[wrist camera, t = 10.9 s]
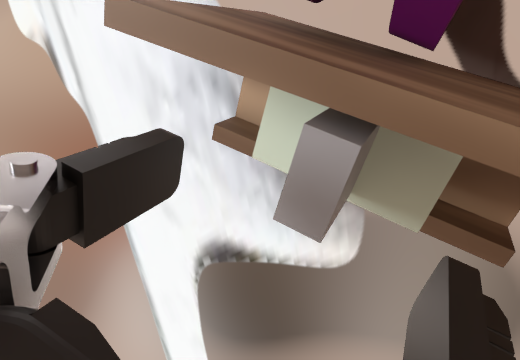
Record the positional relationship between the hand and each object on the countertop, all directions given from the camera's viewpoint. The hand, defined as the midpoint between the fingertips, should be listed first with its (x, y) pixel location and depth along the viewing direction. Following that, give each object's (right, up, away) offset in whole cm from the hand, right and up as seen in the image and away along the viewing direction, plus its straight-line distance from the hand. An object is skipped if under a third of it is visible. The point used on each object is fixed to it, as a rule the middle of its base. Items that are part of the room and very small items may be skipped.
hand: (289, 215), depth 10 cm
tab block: (+7, +5, +13) cm, 16 cm away
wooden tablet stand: (+7, +5, +14) cm, 17 cm away
